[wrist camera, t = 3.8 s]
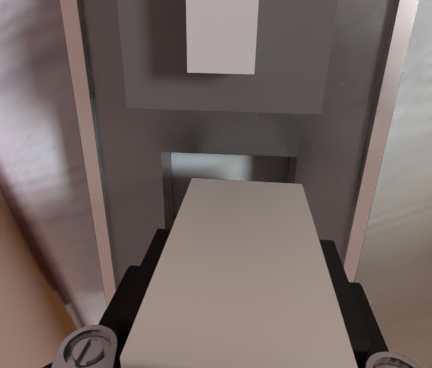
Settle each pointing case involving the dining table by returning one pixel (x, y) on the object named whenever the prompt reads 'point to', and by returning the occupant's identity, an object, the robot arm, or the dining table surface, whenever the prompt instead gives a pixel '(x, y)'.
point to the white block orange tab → (240, 286)
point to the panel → (235, 132)
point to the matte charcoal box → (226, 54)
